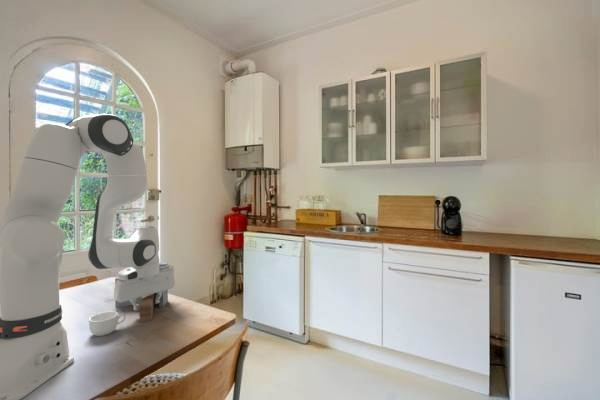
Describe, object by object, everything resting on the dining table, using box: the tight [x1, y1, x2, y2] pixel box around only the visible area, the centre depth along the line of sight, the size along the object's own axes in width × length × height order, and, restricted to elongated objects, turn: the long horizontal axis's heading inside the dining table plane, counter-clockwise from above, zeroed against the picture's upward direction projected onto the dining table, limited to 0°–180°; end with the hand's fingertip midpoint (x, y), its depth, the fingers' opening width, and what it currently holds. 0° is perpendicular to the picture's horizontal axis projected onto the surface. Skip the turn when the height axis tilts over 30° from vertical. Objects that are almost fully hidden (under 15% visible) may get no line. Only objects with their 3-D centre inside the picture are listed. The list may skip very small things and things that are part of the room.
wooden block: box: [138, 293, 155, 323], centre depth 106 cm, size 16×4×6 cm, turn 23°
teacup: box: [88, 310, 126, 337], centre depth 92 cm, size 10×8×5 cm
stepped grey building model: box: [114, 262, 169, 308], centre depth 113 cm, size 6×19×18 cm, turn 99°
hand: (146, 306), depth 105 cm, fingers open, 6 cm apart
